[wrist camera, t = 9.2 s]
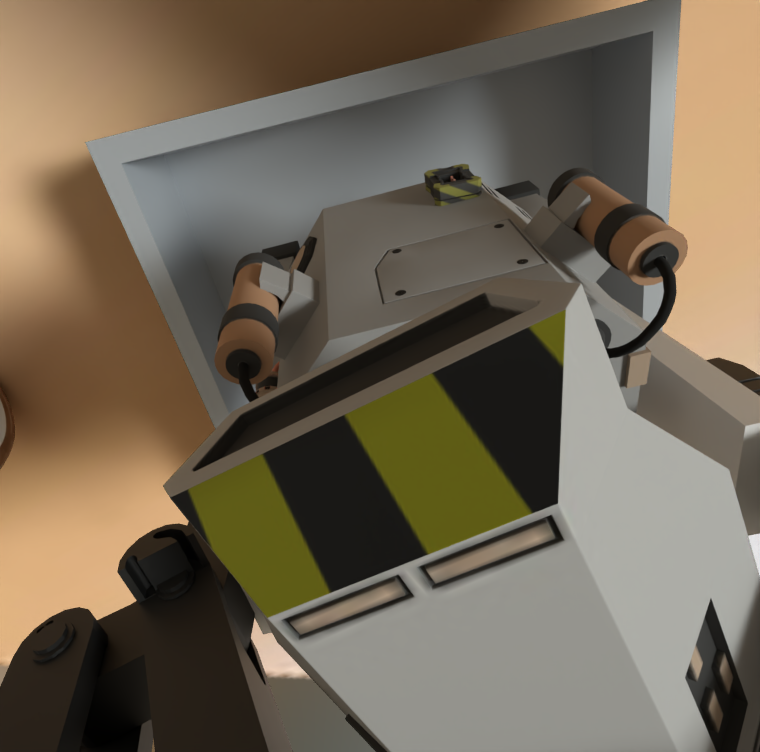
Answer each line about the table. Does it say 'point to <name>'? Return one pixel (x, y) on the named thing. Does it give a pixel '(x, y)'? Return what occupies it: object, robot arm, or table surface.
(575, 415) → the figurine
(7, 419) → the tin
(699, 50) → the table surface
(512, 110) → the bin
